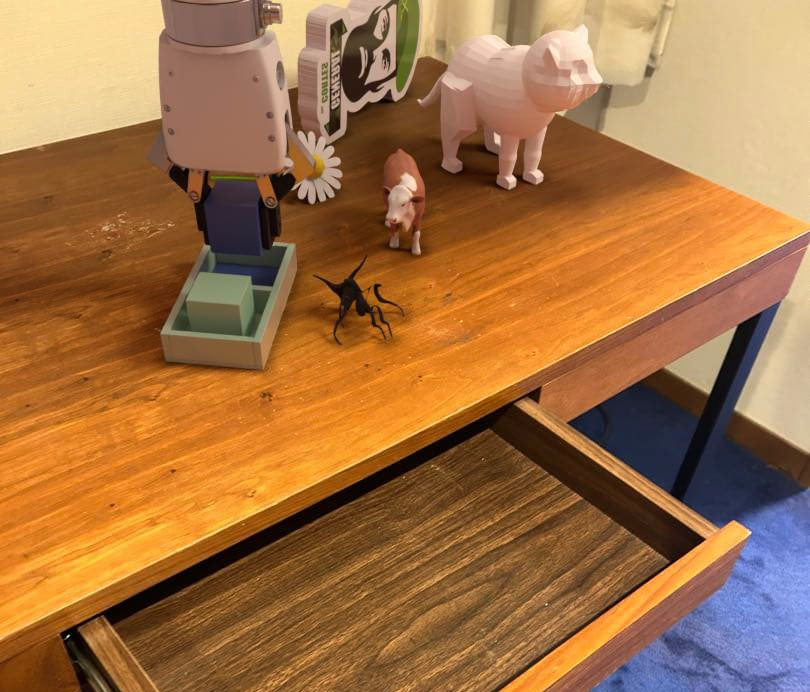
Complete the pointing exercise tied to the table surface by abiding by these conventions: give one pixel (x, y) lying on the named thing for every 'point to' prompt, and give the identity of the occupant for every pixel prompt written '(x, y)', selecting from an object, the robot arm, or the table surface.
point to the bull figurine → (403, 197)
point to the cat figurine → (512, 95)
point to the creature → (357, 299)
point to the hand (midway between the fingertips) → (241, 238)
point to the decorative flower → (321, 171)
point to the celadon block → (221, 304)
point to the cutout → (355, 60)
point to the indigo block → (234, 218)
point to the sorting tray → (269, 296)
